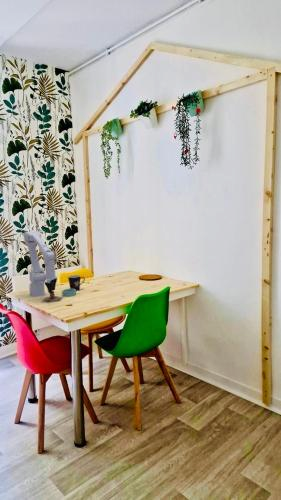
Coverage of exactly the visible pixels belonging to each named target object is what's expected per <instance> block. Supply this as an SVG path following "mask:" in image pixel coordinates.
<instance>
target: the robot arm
mask: <svg viewBox="0 0 281 500" xmlns="http://www.w3.org/2000/svg"><path fill="white" fill-rule="evenodd" d="M23 240H24V244H25V245H26V246H27V249H28V254H29V259H30V263H31V268H32V269H31V270H30V272H29V273H28V274H29V281H30V283H29V297H30V298H34V297H37V298H39V297H45V296H46V295H47V292H48V294H50V293H52V292H53V291H55V289H56V285H57V281H58V276H56V266H55V260H56V258H57V256H56V252H55V251H53V250H51V249H50V247H49V246H48V245H47V244H46V243H44V241H43V238H42V234H41V232H40V230H34V231H24V234H23ZM36 245H37V246H38V250H39V252H40V254H41V255H42V259H43V263H44V266H45V267H44V268H45V269H43V268H41V265H40V261H39V257H38V252H37V248H36ZM45 287H46V289H47V292H45V290H46V289H45Z"/></svg>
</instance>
